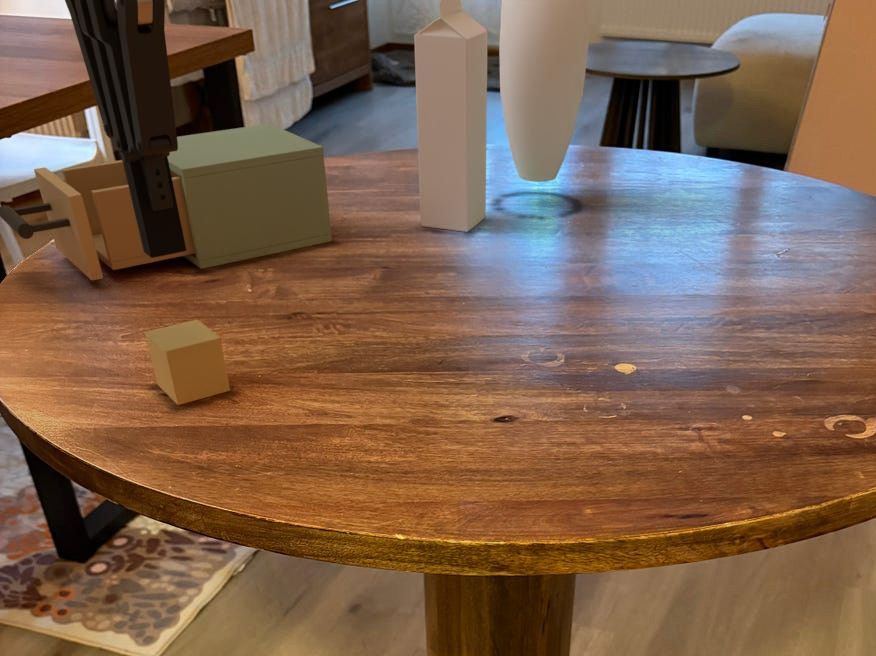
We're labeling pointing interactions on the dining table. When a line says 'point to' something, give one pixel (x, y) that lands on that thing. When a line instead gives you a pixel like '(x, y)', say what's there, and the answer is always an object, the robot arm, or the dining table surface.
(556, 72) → the cream tapered vase
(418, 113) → the milk
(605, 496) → the dining table surface
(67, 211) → the drawer
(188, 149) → the cabinet
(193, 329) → the block
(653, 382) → the dining table surface
